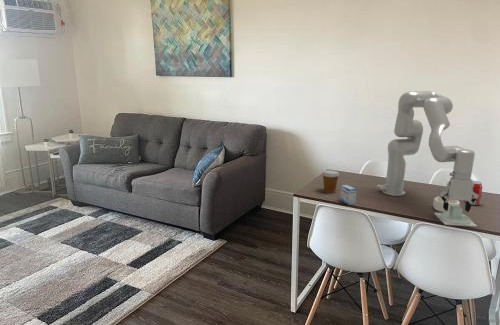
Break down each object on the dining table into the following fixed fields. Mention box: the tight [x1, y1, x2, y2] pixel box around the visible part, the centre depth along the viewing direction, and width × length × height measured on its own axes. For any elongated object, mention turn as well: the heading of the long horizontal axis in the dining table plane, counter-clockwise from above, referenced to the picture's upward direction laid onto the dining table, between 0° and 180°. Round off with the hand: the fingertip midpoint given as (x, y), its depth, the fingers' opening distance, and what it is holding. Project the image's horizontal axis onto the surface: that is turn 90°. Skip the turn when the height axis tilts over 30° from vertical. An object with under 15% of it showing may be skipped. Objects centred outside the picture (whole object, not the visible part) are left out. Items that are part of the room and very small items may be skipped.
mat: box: [433, 212, 478, 228], centre depth 179 cm, size 14×14×1 cm
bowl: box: [432, 196, 461, 213], centre depth 192 cm, size 11×11×5 cm
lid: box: [440, 205, 472, 224], centre depth 178 cm, size 13×13×6 cm
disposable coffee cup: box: [322, 169, 340, 194], centre depth 217 cm, size 10×10×12 cm
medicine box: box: [339, 184, 358, 206], centre depth 200 cm, size 8×4×9 cm, turn 23°
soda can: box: [464, 180, 483, 206], centre depth 201 cm, size 7×7×12 cm
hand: (456, 210), depth 178 cm, fingers open, 9 cm apart
